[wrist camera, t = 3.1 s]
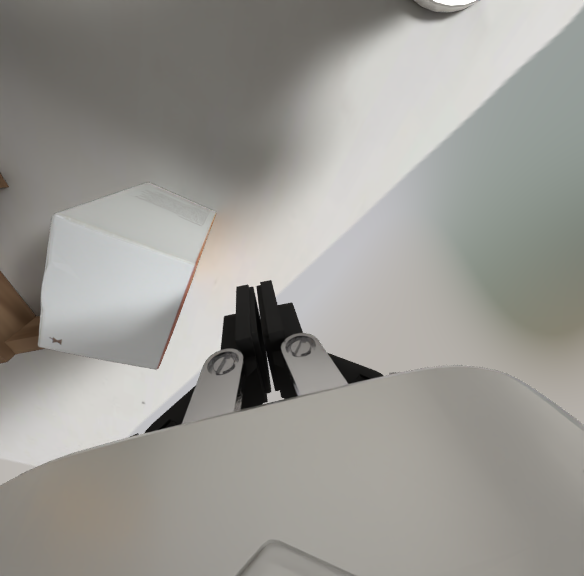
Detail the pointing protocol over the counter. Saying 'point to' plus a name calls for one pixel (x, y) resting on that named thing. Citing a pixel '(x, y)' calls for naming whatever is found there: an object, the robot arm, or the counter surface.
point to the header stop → (15, 319)
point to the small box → (121, 274)
